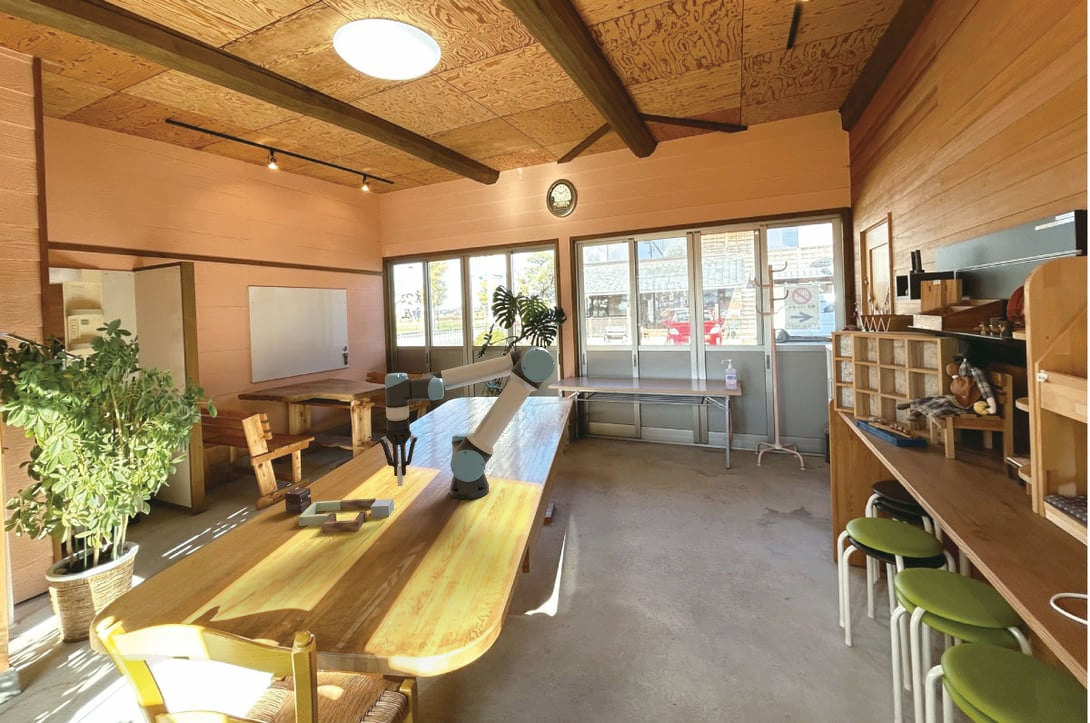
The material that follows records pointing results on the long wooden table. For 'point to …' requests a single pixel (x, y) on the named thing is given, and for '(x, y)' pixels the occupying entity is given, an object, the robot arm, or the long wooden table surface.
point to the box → (297, 500)
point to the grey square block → (382, 508)
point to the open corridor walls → (351, 525)
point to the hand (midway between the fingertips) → (400, 484)
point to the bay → (317, 519)
